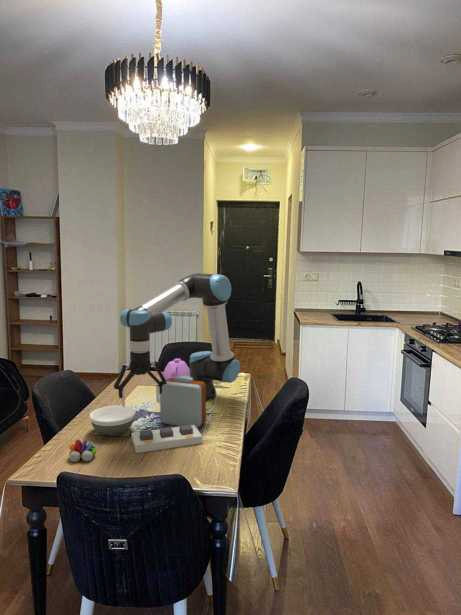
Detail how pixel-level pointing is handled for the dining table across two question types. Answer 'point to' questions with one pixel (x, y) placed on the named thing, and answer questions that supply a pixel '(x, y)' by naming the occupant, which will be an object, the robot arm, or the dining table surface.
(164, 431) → the button middle
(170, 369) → the pink cap
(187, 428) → the button
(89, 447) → the rainbow disc toy
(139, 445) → the board
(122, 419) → the bowl
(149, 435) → the button
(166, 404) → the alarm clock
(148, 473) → the dining table surface
